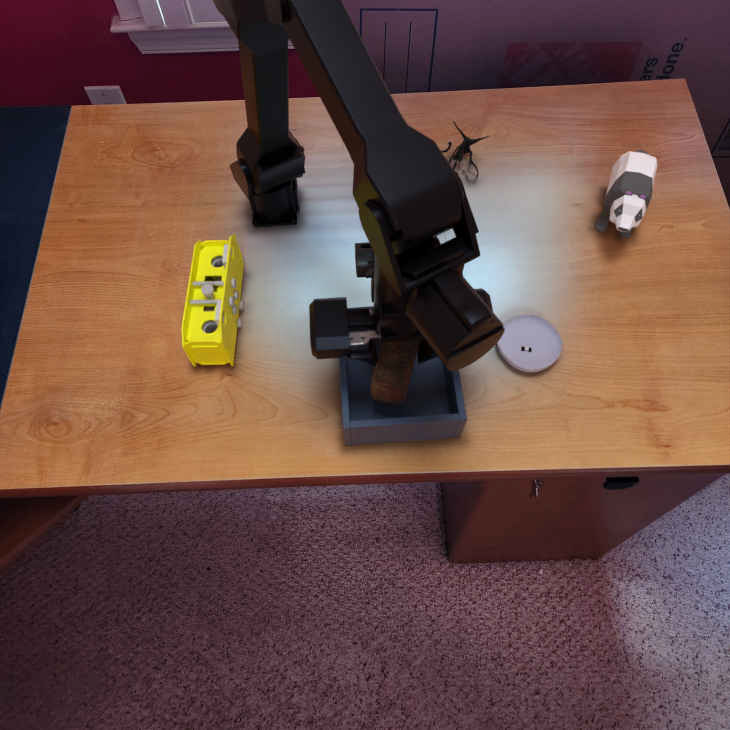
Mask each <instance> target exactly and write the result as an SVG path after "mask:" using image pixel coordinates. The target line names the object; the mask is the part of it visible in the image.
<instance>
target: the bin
mask: <svg viewBox="0 0 730 730" xmlns="http://www.w3.org/2000/svg"><path fill="white" fill-rule="evenodd" d="M363 308H369V312H370V309H371V308H374V305H369V306H356V307H355V306H354V307H347V310H348V309H363ZM375 344H376V349H377V358H378V356H379V352H380V349H381V345H382V343H380V338H377V339H375ZM338 367H339V382H340V385H339V386H340V400H341V401H340V402H341V419H342V433H343V441H344V446H346V447H347V446H360V445H375V444H386V443H387V444H388V443H401V442H402V443H403V442H417V441H429V440H445V439H459V438H461V436H462V433H463V431H464V428H465V425H466V423H467V421H468V417H467V411H466V405H465V399H464V392H463V386H462V381H461V374H460V369H459V370H456V371H449V370H448V369H447V368H446V367H445V365H444V364H443V363H442V361H441V360H440V359H439V357H436V358H434V359H431V360H428V361H426V362H423V363H418V360H417V354H416V358H415V362H414V366H413V370H412V374H411V377H410V382H409V385H408V389H407V395H406V398H405V400H404V401H403V402H402V403H400V405H395V404H391V403H387V402H382V401H378V400H375V399H371V382H372V377H373V374H374V370H375V366H372V365H370V364H368V363H366V362H363V361H359V360H356V359H352V360H350V359H347V358H346V356H345V357H343V358H338Z"/></svg>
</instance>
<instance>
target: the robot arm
mask: <svg viewBox="0 0 730 730" xmlns="http://www.w3.org/2000/svg"><path fill="white" fill-rule="evenodd" d="M212 3H213V4H214V6H215V8H216V9H217V12H218V13H219V14H220V15H221V16H223V18H224V20H225V21H226V23H227V25H228V26H229V28H230V29H231V31H232V32H233V34H234V36H235V37H236V39H237V44H238V52H239V63H240V71H241V72H240V73H241V81H242V89H243V97H244V98H243V99H244V108H245V114H246V126H247V127H246V128H245V130H244V131H243V132H242V134H241V135H240V137H239V138H238V140H237V141H236V144H235V145H236V148H235V149H236V150H235V151H236V158H237V160H235V161H233V162H232V163H230V164H229V165H228V166H229V169H230V171H231V175H232V177H233V179H234V181H235V182H236V183H235V184H237V185H238V187H239V188H240V190H241V191H242V193H243V194H244V196H245V197H246V199H247V200H248V202H249V206H250V209H251V224H252V225H251V226H252V227H254V228H265V227H266V228H267V227H281V226H296V225H297V224H298V213H299V212H300V211H301V197H300V190H299V185H298V178H299V179H300V178H302V177H304V174H306V169H305V165H306V154H305V153H304V152H305V148H304V146H302V145H301V144H300V142H299V140H298V139H297V138H296V137H295V136H294V135H293V133H292V131H291V130H290V111H289V110H290V105H289V104H290V101H289V99H290V98H289V97H290V96H289V95H290V94H289V93H290V91H289V90H290V89H289V88H290V87H289V86H290V85H289V41H290V43H291V44H292V47H293V48H294V50H295V53H296V54H297V56H298V59H299V60H300V62H301V64H302V66H303V68H304V69H305V72H306V73H307V75H308V77H309V79H310V82H311V83H312V85H313V87H314V89H315V90H316V93H317V95H318V96H319V98H320V100H321V103H322V104H323V107H324V108H325V110H326V112H327V113H328V115H329V117H330V119H331V122H332V123H333V125H334V127H335V129H336V131H337V133H338V135H339V136H340V139H341V140H342V142H343V145H344V146H345V149H346V150H347V153H348V154H349V156H350V159H351V161H352V164H353V175H352V196H353V197H352V198H353V199H354V201H355V204H356V205H357V208H358V217H359V218H358V219H359V221H360V225H361V228H362V230H363V232H364V234H365V236H366V239H367V240H368V241H366V242H365V241H364V242H355V243H354V261H355V264H354V265H355V274H356V275H355V276H356V278H359V279H360V278H365V279H370V299H371V304H372V303H373V306H374V308H371V309H370V312H369V308H363V309H348V310H347V308H348V301H347V299H348V298H347V296H339V297H338V296H337V297H323V298H314V299H313V300H311V303H310V304H309V305H308V315H309V318H308V319H309V320H308V321H309V342H310V350H311V355H312V356H313V357H314V358H315V359H317V360H326V359H327V360H328V359H329V360H331V359H339V358H343V357H345V356H346V358H347V359H350V360H352V359H356V360H359V361H363V362H366V363H368V364H370V365H372V366H376V364H377V360H378V358H377V349H376V344H375V339H377V338H380V343H386V342H401V341H416V340H420V342H419V345H418V350H417V360H418V363H423V362H426V361H428V360H431V359H434V358H436V357H439V359H440V360H441V361H442V363H443V364H444V365H445V367H446V368H447V369H448V370H449V371H456V370H459V371H460V370H462V369H464V368H466V367H469V366H470V365H472V364H474V363H475V362H477V361H479V360H480V359H481V358H483V357H484V356H485V355H486V354H487V353H489V352H490V351H491V350H492V349H493V348H494V347H495V346H496V345H497V342H498V341H499V340H500V339H501V337H502V335H503V334H504V331H505V329H504V326H503V324H504V323H503V322H502V320H500V319H499V317H498V315H496V314H495V312H494V308H493V304H492V299H491V294H489V292H487V290H485V289H484V288H474V287H473V286H472V284H471V283H470V282H468V280H467V279H466V278H465V277H464V268H465V265H466V264H468V263H470V262H472V261H474V260H476V259H478V258H480V257H481V250H480V247H479V243H478V238H477V234H478V233H480V230H479V227H478V224H477V222H476V219H475V217H474V213H473V210H472V208H471V205H470V202H469V198H468V196H467V193H466V189H465V185H464V183H463V180H462V179H461V177H460V175H459V173H458V171H456V169H455V170H454V169H453V167H452V166H451V163H450V164H449V163H448V162H449V160H448V159H447V158H446V157H445V155H444V153H442V152H441V151H442V150H441V149H440V147H439V146H438V144H437V142H436V141H435V140H434V139H432V138H431V137H429V136H427V135H426V134H424V133H422V132H421V131H419V130H417V129H416V128H415V127H412V126H411V125H409V124H408V123H407V121H406V119H405V118H404V116H403V115H402V113H401V111H400V109H399V107H398V105H397V104H396V102H395V100H394V98H393V96H392V94H391V92H390V90H389V89H388V86H387V84H386V83H385V81H384V78H383V77H382V74H381V73H380V71H379V69H378V67H377V65H376V63H375V62H374V61H375V60H374V59H373V57H372V56H371V54H370V51H369V50H368V48H367V46H366V44H365V42H364V40H363V38H362V36H361V34H360V32H359V30H358V29H357V27H356V25H355V22H354V21H353V19H352V16H351V15H350V12H349V11H348V9H347V7H346V4H345V3H344V2H343V0H212ZM450 230H452V231H453V233H454V235H455V236H454V237H453V238H451V239H449V240H447V241H445V242H443V243H441V241H440V239H439V238H438V236H440V235H442V234H444V233H446V232H448V231H450Z"/></svg>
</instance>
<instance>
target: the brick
mask: <svg viewBox="0 0 730 730" xmlns="http://www.w3.org/2000/svg"><path fill="white" fill-rule="evenodd" d="M419 342H420V340H416V341H401V342H386V343H382V345H381V349H380V352H379V356H378V360H377V364H376V366H375V370H374V374H373V377H372V382H371V399H375V400H378V401H382V402H387V403H391V404H395V405H400V403H402V402H403V401H404V400H405V398H406V395H407V389H408V385H409V382H410V377H411V374H412V370H413V366H414V362H415V358H416V354H417V350H418V345H419Z"/></svg>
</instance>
